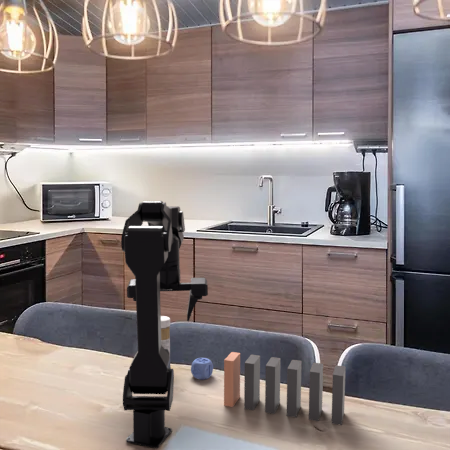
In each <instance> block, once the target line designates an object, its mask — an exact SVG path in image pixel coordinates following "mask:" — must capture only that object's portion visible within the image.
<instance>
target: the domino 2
mask: <svg viewBox="0 0 450 450" xmlns="http://www.w3.org/2000/svg"><path fill="white" fill-rule="evenodd" d="M243 382H244V387H243V389H244V390H243V391H244V394H243V395H244V398H243V399H244V400H243V404H244V407H243V409H244V410H248V409H249V411H254V410H255V408H257V406H258V403H260V398H261V394H260V393H261V391H260V389H261V387H260V386H261V383H260V382H261V355H258V354H257V355H256V354H250V355H249V357H248V358H247V359H246V360H245V362H244V381H243Z"/></svg>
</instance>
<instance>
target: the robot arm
mask: <svg viewBox="0 0 450 450" xmlns="http://www.w3.org/2000/svg"><path fill="white" fill-rule="evenodd" d="M137 207H138V208H137V210H136V211H134V213H132V215H130V216H128V218H126V220H125V222H124V226H123V230H122V234H121V237H120V238H121V239H120V244H121V245H120V246H121V251H122V252H123V253H124V260H125V264H126V266H127V267H128V268H129V271H131V273H132V274H133V276H134V279H133V278H132V279H130V280H129V282H128V284H127V287H126V297H127V298H129V299H132V300H133V302H135V306H136V307H135V311H136V314H135V315H136V334H137V335H136V336H137V337H136V338H137V341H136V342H137V351H136V353H135V354H134V356H133V359H132V361H131V364H130V366H129V368H128V370H127V373H126V375H125V376H124V381H123V389H122V407H123V410H124V411H132V419H133V421H132V426H133V427H132V428H133V429H132V430H133V431H132V432H131V434H129V435H128V436H127V437H126V438H125V442H126V443H129V444H132V445H133V444H134V445H138V446H144V447H149V448H153V449H157V448H159V447H161V445H162V444H163V442H164V441H165V440H166V439H167V437H169V435H170V434H171V433H172V432H173V428H171V427H167V426H166V424H165V423H166V415H165V414H166V413H165V412H166V411H167V412H171V408H172V404H173V401H174V383H175V381H174V377H175V376H174V375H175V373H174V368H171V352H170V353H169V351H168V349H164V348H163V347H162V345H161V316H162V314H161V313H162V312H161V292H185V291H187V292H189V295H188V303H187V312H186V321H187V322H189V321H190V319H191V316H192V314H193V311H194V308H195V306H196V304H197V303H198V301H199V300H203V297H207V296H208V295H209V293H208V291H209V290H208V289H209V287H208V285H209V284H208V279H207V278H206V277H191V278H190V282H181V267H180V266H181V263H180V262H181V261H180V249H181V246H182V244H183V241H184V237H185V236H184V233H185V231H186V227H185V225H186V224H185V218H184V217H185V216H184V211H182V210H181V207H180V205H179V206H170V205H169V206H168V205H167V202H166V201H165V202H164V201H162V200H143V201H141V202H140V201H139V204H138V206H137ZM146 222H147V224H148V225H144V223H146ZM152 395H154V396H152ZM155 395H156V396H155ZM157 395H158V396H157ZM159 395H161V396H159ZM163 395H166V396H163Z"/></svg>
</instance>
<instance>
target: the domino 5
mask: <svg viewBox="0 0 450 450" xmlns="http://www.w3.org/2000/svg"><path fill="white" fill-rule="evenodd" d="M323 386H324V363H320V362H313V363H312V365H311V368H310V370H309V386H308V387H309V390H308V420H309V421H315V422H320V418H321V415H322V412H323V392H324V391H323V390H324V389H323Z"/></svg>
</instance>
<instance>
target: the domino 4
mask: <svg viewBox="0 0 450 450" xmlns="http://www.w3.org/2000/svg"><path fill="white" fill-rule="evenodd" d="M286 370H287V371H286V373H287V374H286V380H287V381H286V416H287V417H292V418H297V416H298V415H299V411H300V410H301V407H302V401H301V400H302V399H301V398H302V360H299V359H298V360H297V359H291V361H290V363H289V365H288V366H287V369H286Z"/></svg>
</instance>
